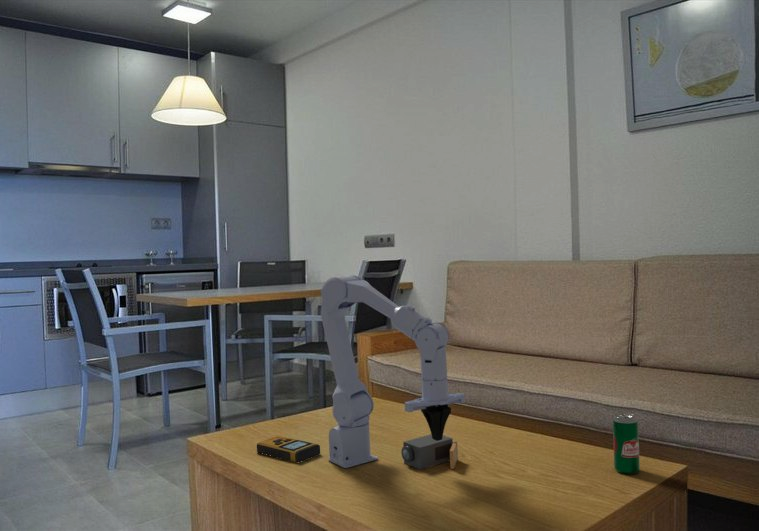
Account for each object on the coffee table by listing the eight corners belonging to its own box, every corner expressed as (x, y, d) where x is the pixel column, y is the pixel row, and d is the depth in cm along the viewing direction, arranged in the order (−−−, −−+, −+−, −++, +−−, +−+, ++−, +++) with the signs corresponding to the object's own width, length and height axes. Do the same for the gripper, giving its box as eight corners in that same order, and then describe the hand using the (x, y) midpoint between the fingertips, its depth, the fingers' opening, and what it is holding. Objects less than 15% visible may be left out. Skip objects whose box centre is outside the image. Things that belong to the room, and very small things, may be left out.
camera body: (417, 470, 139) (415, 446, 139) (400, 464, 144) (399, 440, 144) (453, 459, 145) (452, 435, 145) (436, 453, 150) (435, 430, 150)
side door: (454, 469, 138) (453, 450, 138) (450, 469, 139) (449, 450, 139) (458, 459, 145) (457, 441, 145) (453, 459, 145) (453, 441, 145)
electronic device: (279, 446, 164) (278, 433, 164) (321, 455, 154) (321, 442, 154) (254, 455, 157) (253, 441, 157) (297, 465, 147) (296, 451, 147)
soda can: (624, 476, 130) (622, 419, 130) (609, 468, 135) (607, 414, 134) (645, 473, 131) (642, 417, 131) (629, 465, 136) (627, 411, 136)
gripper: (414, 385, 130) (417, 449, 131) (471, 376, 137) (474, 437, 137) (399, 380, 137) (402, 441, 137) (454, 372, 143) (457, 430, 143)
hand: (437, 439), depth 137 cm, fingers closed
